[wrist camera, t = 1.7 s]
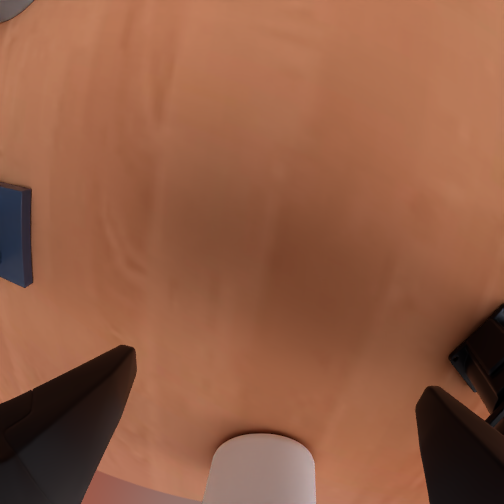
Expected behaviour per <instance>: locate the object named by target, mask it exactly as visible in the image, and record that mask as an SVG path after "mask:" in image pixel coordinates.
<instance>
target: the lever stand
mask: <svg viewBox="0 0 504 504" xmlns="http://www.w3.org/2000/svg"><path fill="white" fill-rule="evenodd" d="M30 215H31V189H29V188H25V187H20V186H16V185H11V184H7V183H2V182H0V277H2V278H4V279H6V280H8V281H10V282H12V283H15V284H17V285H19V286H21V287H24V288H26V287H27V286H29V285H30V284H32V283H33V278H32V262H31V233H30Z"/></svg>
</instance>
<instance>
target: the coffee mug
mask: <svg viewBox="0 0 504 504" xmlns="http://www.w3.org/2000/svg"><path fill="white" fill-rule="evenodd" d="M33 1H34V0H0V22H4V21H7V20H9V19H11V18H13V17H15V16H16V15H18V14H19V13H20V12H22V11H23V10H24V9H25V8H26V7H28V6H29V5H30V4H31V3H32V2H33Z"/></svg>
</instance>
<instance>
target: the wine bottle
mask: <svg viewBox="0 0 504 504" xmlns="http://www.w3.org/2000/svg"><path fill="white" fill-rule="evenodd" d="M202 504H316V489H315V464H314V460H313V457H312V455H311V453H310V452H309V451H308V450H307V448H306V447H304V446H303V445H302V444H300V443H299V442H297V441H295V440H293V439H290V438H287V437H284V436H280V435H274V434H264V433H257V434H246V435H241V436H238V437H235V438H232V439H230V440H228V441H226V442H225V443H223V444H222V445H221V446H220V447H219V448H218V449H217V451H216V452H215V454H214V456H213V459H212V463H211V467H210V471H209V476H208V480H207V484H206V488H205V492H204V497H203V501H202Z"/></svg>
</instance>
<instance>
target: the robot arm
mask: <svg viewBox="0 0 504 504" xmlns="http://www.w3.org/2000/svg"><path fill="white" fill-rule="evenodd" d="M449 360H450V362H451V364H452V365H453V366H454V367H455V369H456V370H457V371H458V372H459V374H460V375H461V376H462V377H463V379H464V380H465V381H466V382H467V384H468V385H469V386H470V388H471V389H472V390H473V392H478V394H479V396H480V397H481V399H482V401H483V402H484V404H485V406H486V408H487V409H488V411H489V413H490V416H489V417H488V418H487V419H486V420H485V421H484V420H483V419H481V418H480V417H479V416H477V415H476V414H475V413H474V412H472V411H471V410H470V409H468V408H467V407H466V406H464V405H463V404H462V403H460V402H459V401H458V400H457V399H455V398H454V397H453V396H451V395H450V394H449V393H447V392H446V391H445V390H443V389H442V388H441V387H439V386H428V387H427V388H426V389H425V390H424V392H423V394H422V396H421V397H420V399H419V401H418V402H417V404H416V409H415V412H416V420H417V428H418V437H419V446H420V452H421V457H422V462H423V468H424V473H425V478H426V484H427V490H428V496H429V502H430V504H504V304H503V305H501V306H500V307H499V308H498V310H497V311H496V312H495V313H494V314H493V315H492V316H491V317H490V318H489V319H488V320H487V321H486V322H485V323H484V324H483V325H482V326H481V327H479V328H478V329H477V330H476V331H475V332H474V333H473V334H472V335H471V336H470V337H469V338H468V339H467V340H466V341H465V342H463V343H462V344H461V345H460V346H459V347H458V348H457V349H456V350H454V351H453V352H452V353H451V354H450V356H449ZM136 372H137V366H136V352H135V349H134V348H133V347H130V346H126V345H119V346H117V347H116V348H114V349H112V350H110V351H108V352H106V353H104V354H102V355H100V356H98V357H96V358H94V359H92V360H90V361H88V362H86V363H84V364H82V365H80V366H78V367H76V368H74V369H72V370H70V371H68V372H66V373H64V374H62V375H60V376H58V377H56V378H54V379H52V380H50V381H48V382H46V383H44V384H42V385H40V386H38V387H36V388H34V389H33V391H32V390H30V391H28V392H26V393H24V394H22V395H20V396H18V397H15V398H13V399H11V400H9V401H6V402H4V403H1V404H0V504H81V502H82V500H83V498H84V495H85V493H86V491H87V489H88V486H89V484H90V482H91V480H92V478H93V475H94V473H95V471H96V469H97V467H98V465H99V463H100V461H101V458H102V456H103V454H104V452H105V450H106V448H107V446H108V444H109V442H110V439H111V437H112V435H113V433H114V431H115V429H116V427H117V425H118V423H119V421H120V419H121V416H122V414H123V411H124V408H125V405H126V402H127V399H128V396H129V393H130V390H131V388H132V385H133V382H134V379H135V376H136Z"/></svg>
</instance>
